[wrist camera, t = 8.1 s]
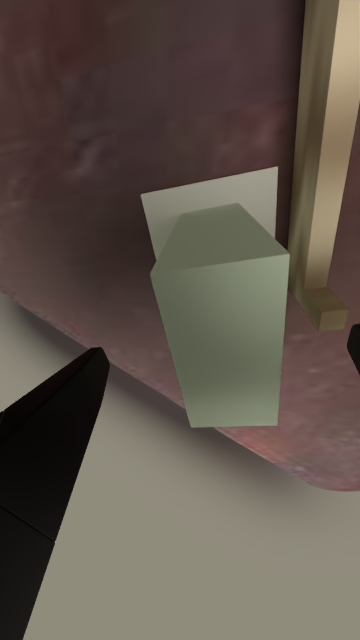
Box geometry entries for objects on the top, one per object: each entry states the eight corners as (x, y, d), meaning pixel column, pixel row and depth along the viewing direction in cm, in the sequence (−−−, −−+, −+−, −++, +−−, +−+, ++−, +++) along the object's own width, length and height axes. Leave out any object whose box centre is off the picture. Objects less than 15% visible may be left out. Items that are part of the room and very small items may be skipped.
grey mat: (269, 313, 18) (271, 317, 18) (173, 323, 20) (172, 327, 19) (275, 166, 13) (278, 166, 13) (142, 193, 14) (140, 194, 14)
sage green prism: (242, 303, 17) (277, 425, 9) (197, 308, 18) (191, 427, 10) (238, 202, 14) (289, 253, 5) (181, 213, 14) (149, 273, 6)
